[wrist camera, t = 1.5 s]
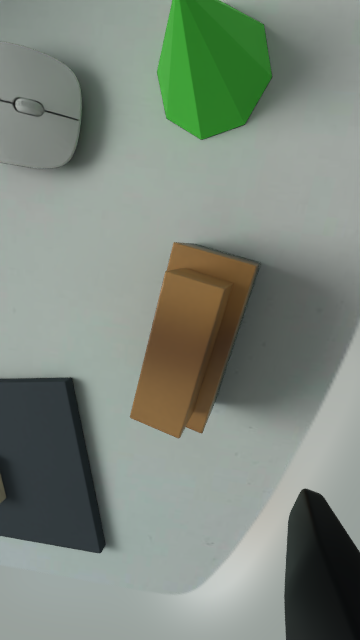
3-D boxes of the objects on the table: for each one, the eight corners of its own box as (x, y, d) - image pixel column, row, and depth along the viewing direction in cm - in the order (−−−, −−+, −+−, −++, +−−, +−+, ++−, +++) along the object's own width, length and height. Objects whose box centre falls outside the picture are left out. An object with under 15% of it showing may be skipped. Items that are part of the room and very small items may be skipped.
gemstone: (135, 71, 17) (66, -15, 12) (228, -30, 15) (198, -195, 9) (197, 165, 17) (158, 124, 12) (298, 78, 15) (310, -23, 10)
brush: (214, 403, 20) (189, 464, 14) (156, 380, 21) (110, 429, 15) (261, 262, 17) (252, 269, 12) (192, 243, 18) (153, 240, 13)
